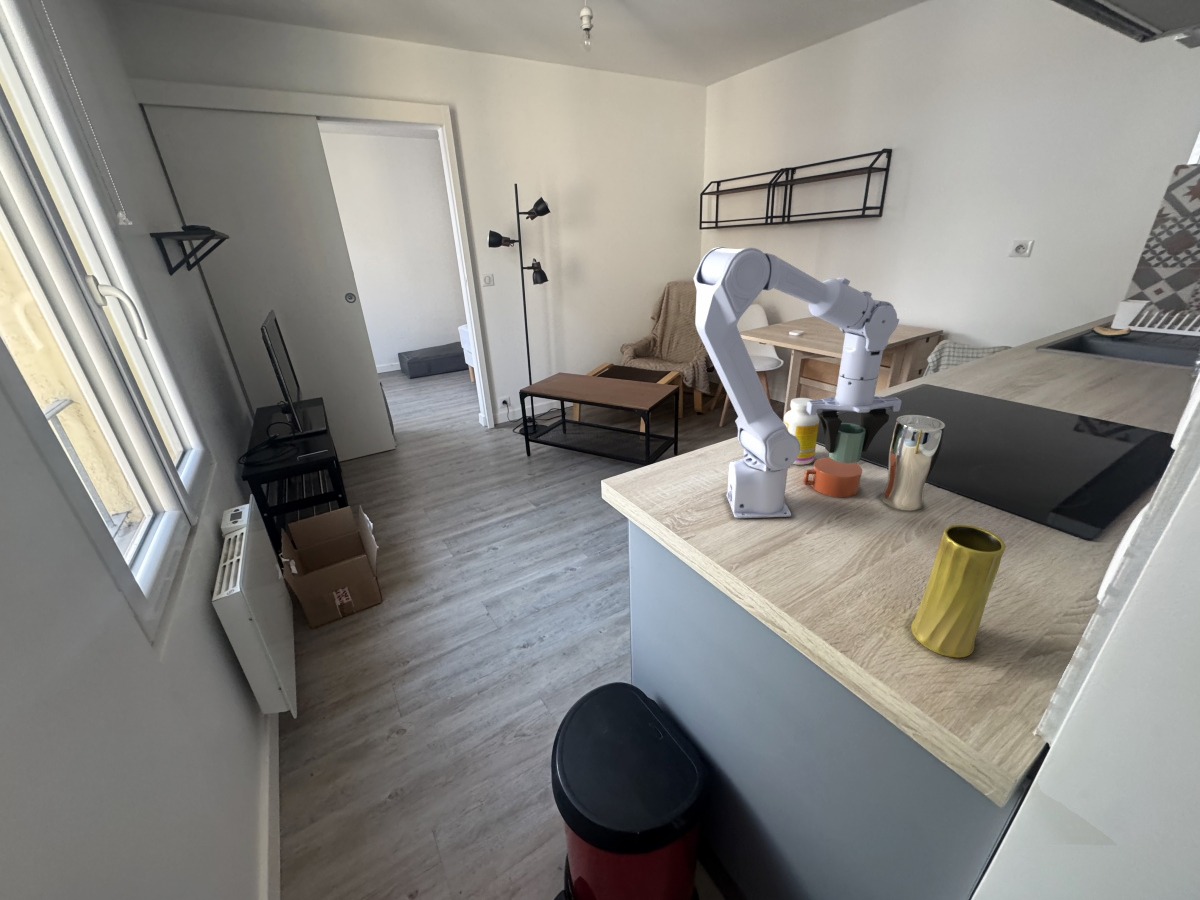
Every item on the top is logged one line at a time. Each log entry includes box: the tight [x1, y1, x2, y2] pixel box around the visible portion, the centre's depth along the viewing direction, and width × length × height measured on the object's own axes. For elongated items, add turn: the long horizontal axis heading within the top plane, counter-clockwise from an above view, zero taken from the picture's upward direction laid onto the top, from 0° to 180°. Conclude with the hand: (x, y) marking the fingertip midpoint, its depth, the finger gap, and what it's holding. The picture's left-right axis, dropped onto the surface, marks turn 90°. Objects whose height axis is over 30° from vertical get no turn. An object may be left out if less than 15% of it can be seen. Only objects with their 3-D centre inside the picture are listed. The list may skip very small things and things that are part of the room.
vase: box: [910, 524, 1006, 659], centre depth 52 cm, size 6×6×14 cm
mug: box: [802, 456, 863, 498], centre depth 87 cm, size 10×8×4 cm
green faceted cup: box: [828, 422, 866, 463], centre depth 82 cm, size 5×5×6 cm
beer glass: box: [880, 414, 946, 512], centre depth 78 cm, size 7×7×15 cm
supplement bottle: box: [783, 397, 820, 466], centre depth 96 cm, size 7×7×13 cm
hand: (845, 449), depth 82 cm, fingers closed on green faceted cup, 5 cm apart
